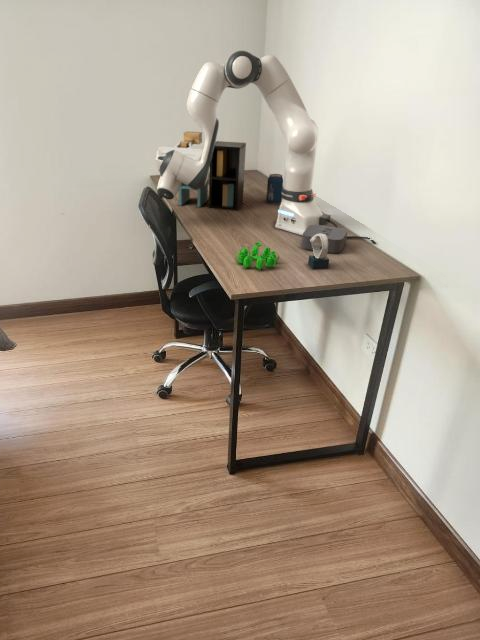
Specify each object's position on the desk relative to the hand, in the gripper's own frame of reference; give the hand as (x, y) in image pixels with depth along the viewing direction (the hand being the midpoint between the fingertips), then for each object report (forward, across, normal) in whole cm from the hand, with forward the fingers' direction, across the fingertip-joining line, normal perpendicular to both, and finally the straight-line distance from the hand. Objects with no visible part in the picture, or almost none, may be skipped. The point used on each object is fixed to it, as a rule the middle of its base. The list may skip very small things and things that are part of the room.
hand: (185, 143), depth 224 cm
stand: (-4, 0, +29) cm, 29 cm away
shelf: (-4, -16, +29) cm, 33 cm away
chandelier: (-61, -44, -4) cm, 75 cm away
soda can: (+7, -35, +35) cm, 50 cm away
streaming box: (-39, -64, +9) cm, 76 cm away
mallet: (+3, 0, +3) cm, 5 cm away
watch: (-58, -64, -2) cm, 86 cm away
